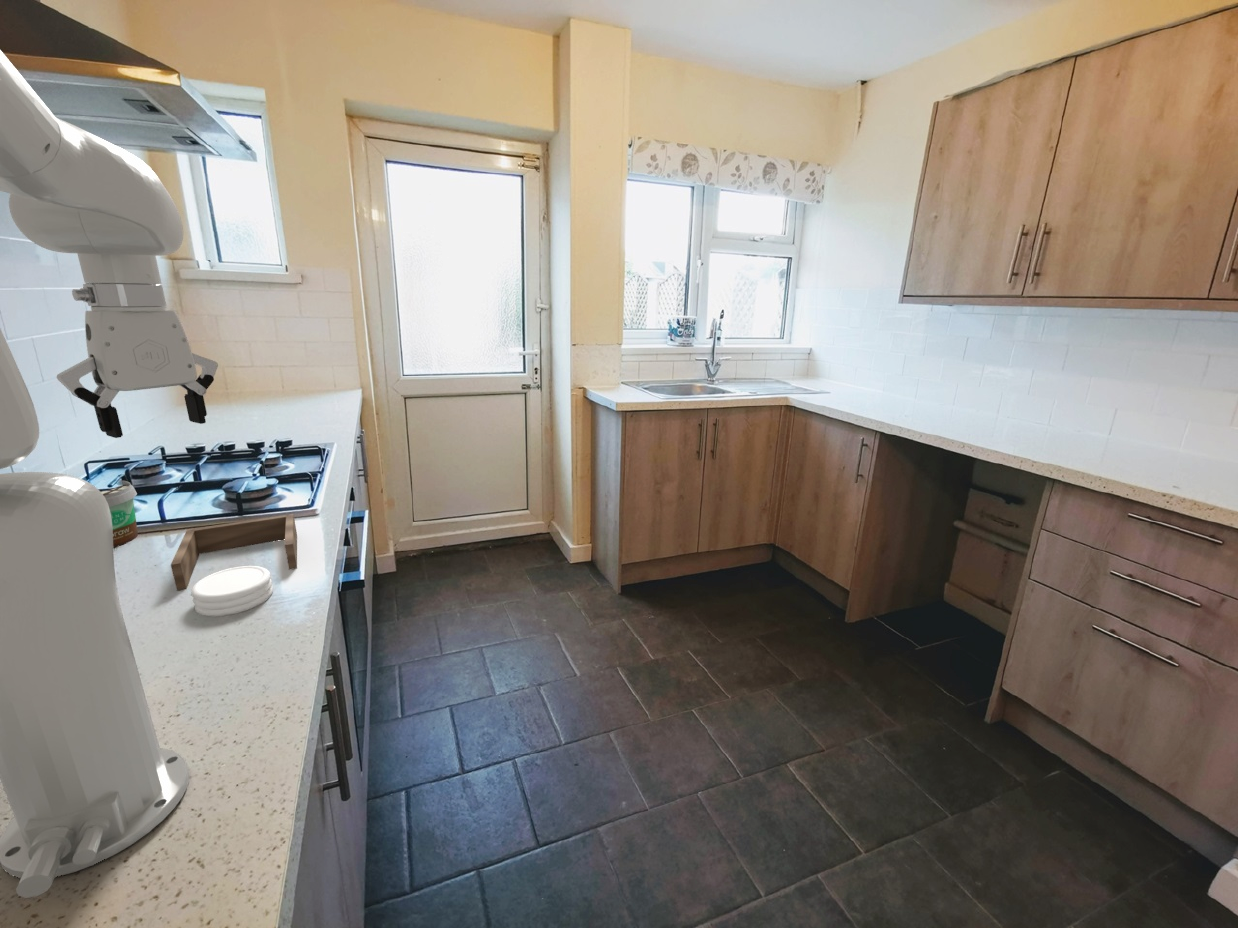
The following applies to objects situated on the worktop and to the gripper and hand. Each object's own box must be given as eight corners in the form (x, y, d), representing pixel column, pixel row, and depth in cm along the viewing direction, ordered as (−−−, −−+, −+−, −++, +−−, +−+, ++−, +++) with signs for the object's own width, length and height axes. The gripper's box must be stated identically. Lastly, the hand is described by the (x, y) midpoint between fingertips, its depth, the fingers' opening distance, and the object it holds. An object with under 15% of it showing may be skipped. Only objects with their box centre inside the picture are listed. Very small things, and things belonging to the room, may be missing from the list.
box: (297, 568, 95) (292, 543, 94) (177, 590, 87) (170, 564, 86) (297, 535, 108) (293, 513, 106) (192, 552, 100) (186, 529, 99)
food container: (95, 558, 98) (80, 504, 95) (67, 554, 99) (51, 501, 96) (163, 530, 109) (151, 482, 107) (137, 527, 111) (125, 479, 108)
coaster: (274, 578, 92) (270, 559, 91) (273, 606, 84) (269, 585, 83) (199, 593, 87) (194, 573, 86) (191, 625, 79) (185, 603, 78)
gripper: (49, 299, 63) (89, 446, 68) (217, 299, 77) (240, 420, 82) (24, 299, 67) (64, 438, 72) (189, 298, 81) (213, 415, 86)
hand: (158, 429), depth 77 cm, fingers open, 9 cm apart
